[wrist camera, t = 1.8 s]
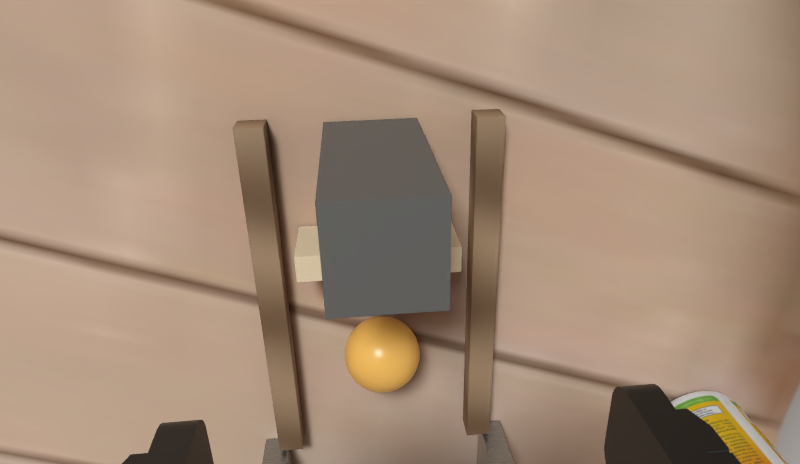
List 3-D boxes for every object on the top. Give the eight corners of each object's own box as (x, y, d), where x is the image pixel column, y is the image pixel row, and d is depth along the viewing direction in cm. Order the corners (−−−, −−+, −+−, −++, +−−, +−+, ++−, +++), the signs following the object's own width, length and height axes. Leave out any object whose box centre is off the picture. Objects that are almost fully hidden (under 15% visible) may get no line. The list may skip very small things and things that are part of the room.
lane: (237, 120, 25) (232, 128, 24) (499, 109, 26) (505, 115, 25) (282, 434, 33) (279, 450, 32) (484, 417, 33) (489, 433, 32)
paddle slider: (288, 123, 25) (262, 205, 17) (451, 116, 26) (501, 192, 18) (301, 249, 28) (284, 373, 20) (449, 241, 28) (493, 357, 20)
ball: (342, 304, 30) (342, 348, 26) (414, 299, 30) (423, 342, 27) (346, 363, 31) (347, 411, 28) (415, 358, 31) (424, 405, 28)
